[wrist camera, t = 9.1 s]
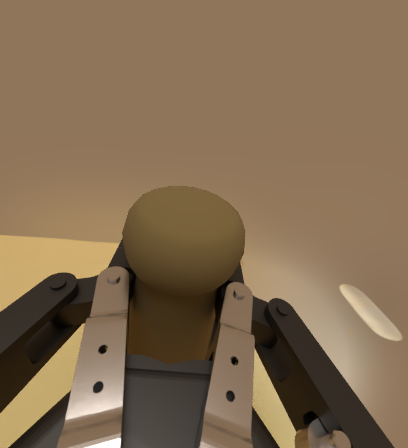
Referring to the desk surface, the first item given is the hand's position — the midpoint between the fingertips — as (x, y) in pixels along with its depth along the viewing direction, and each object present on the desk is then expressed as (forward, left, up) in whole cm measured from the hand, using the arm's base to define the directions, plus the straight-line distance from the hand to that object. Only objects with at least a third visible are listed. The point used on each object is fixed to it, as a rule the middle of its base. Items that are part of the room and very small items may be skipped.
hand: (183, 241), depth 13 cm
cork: (0, -3, -7) cm, 7 cm away
